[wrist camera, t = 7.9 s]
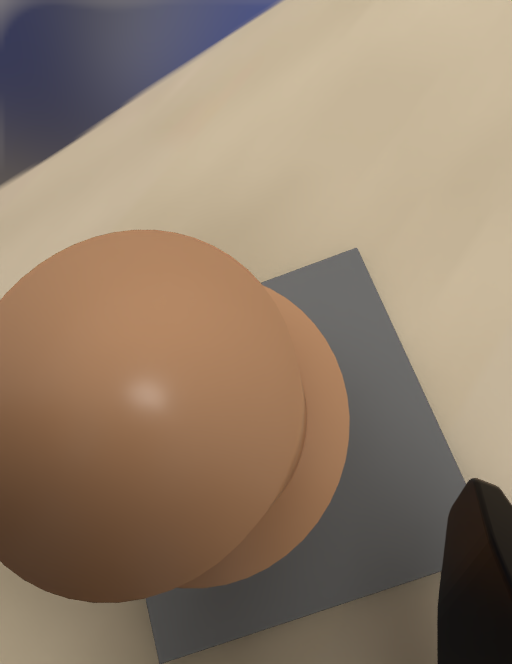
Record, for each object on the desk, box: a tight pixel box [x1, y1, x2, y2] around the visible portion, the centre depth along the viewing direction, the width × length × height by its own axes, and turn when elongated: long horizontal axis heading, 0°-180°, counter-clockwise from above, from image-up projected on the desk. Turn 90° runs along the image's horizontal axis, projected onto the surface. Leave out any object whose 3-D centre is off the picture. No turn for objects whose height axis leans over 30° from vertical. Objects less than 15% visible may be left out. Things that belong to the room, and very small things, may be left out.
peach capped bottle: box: [0, 230, 350, 603], centre depth 10 cm, size 5×5×12 cm
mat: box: [146, 248, 466, 664], centre depth 16 cm, size 12×12×1 cm
